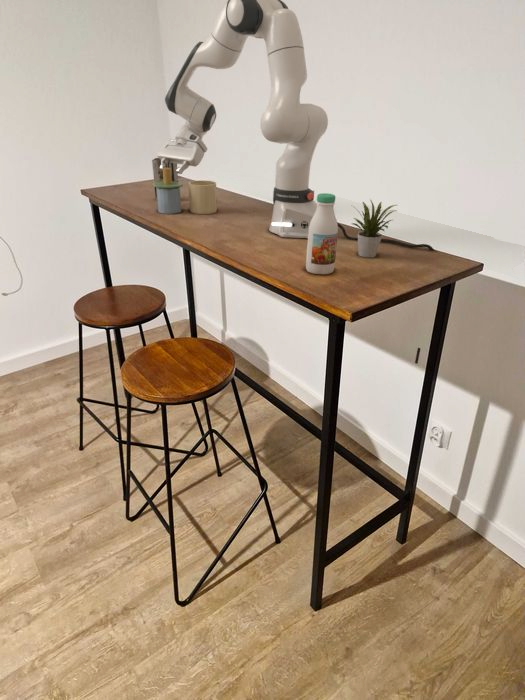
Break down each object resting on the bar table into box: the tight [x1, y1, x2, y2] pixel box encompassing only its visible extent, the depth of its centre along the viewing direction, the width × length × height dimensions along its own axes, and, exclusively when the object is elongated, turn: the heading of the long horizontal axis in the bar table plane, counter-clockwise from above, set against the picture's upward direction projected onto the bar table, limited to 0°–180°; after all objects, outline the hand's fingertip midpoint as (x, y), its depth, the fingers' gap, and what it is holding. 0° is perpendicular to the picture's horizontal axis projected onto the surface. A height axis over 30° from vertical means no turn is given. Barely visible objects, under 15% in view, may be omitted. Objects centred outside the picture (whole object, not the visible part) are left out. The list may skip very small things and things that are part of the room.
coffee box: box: [151, 157, 179, 201], centre depth 199 cm, size 9×6×16 cm
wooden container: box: [188, 180, 218, 215], centre depth 184 cm, size 10×10×10 cm
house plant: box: [351, 199, 398, 259], centre depth 138 cm, size 14×14×16 cm
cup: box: [156, 187, 182, 215], centre depth 182 cm, size 9×9×9 cm
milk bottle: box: [305, 192, 339, 275], centre depth 124 cm, size 8×8×20 cm
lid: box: [152, 168, 184, 189], centre depth 178 cm, size 11×11×7 cm
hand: (169, 171), depth 178 cm, fingers open, 8 cm apart
